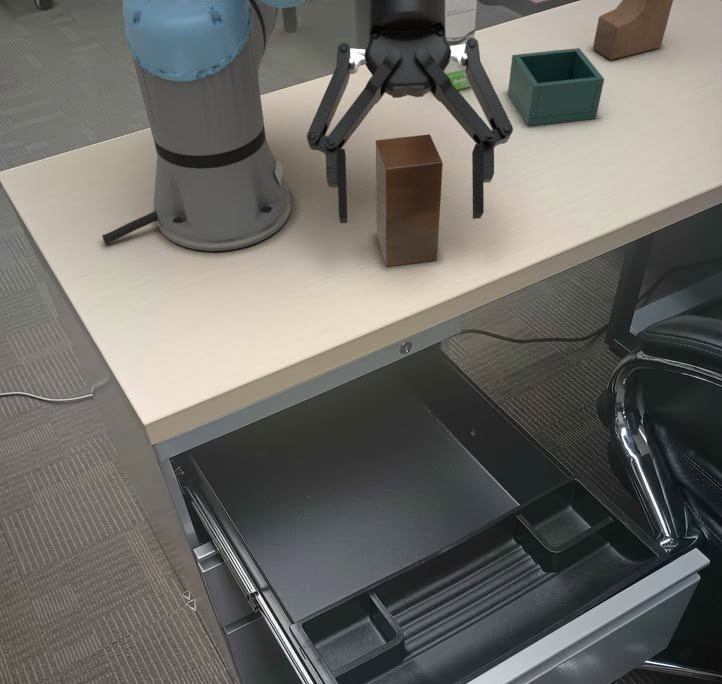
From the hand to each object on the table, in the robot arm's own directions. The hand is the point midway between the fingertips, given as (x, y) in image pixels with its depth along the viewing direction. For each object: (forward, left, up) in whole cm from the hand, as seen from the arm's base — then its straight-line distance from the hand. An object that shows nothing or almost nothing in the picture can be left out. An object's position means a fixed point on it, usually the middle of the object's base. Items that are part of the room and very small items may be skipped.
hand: (410, 218), depth 77 cm
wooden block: (+41, +43, -5) cm, 60 cm away
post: (0, +2, -5) cm, 5 cm away
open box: (+25, +29, -5) cm, 39 cm away
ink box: (+13, +40, -5) cm, 42 cm away
